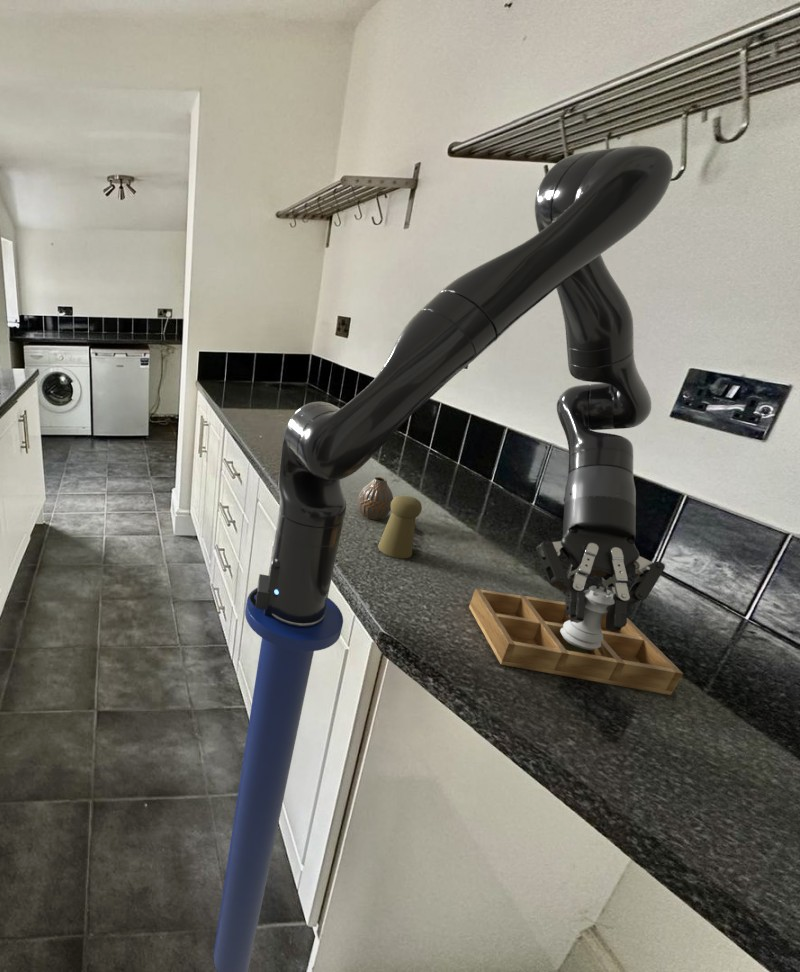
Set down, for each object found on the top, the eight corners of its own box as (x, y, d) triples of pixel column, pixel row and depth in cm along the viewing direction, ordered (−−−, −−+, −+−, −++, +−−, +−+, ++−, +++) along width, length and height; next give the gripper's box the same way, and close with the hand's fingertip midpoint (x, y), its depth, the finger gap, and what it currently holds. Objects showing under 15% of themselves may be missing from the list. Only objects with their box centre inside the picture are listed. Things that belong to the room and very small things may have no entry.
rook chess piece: (553, 636, 69) (574, 587, 66) (565, 625, 72) (586, 577, 68) (593, 656, 66) (617, 605, 63) (604, 643, 68) (628, 594, 65)
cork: (409, 561, 93) (424, 508, 89) (375, 552, 96) (388, 499, 92) (413, 548, 98) (427, 496, 94) (380, 539, 101) (392, 489, 97)
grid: (500, 664, 69) (508, 643, 67) (468, 607, 81) (475, 588, 79) (671, 695, 65) (683, 673, 63) (610, 630, 77) (620, 610, 75)
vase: (388, 513, 113) (397, 476, 109) (388, 525, 107) (398, 487, 103) (356, 506, 115) (364, 471, 112) (354, 518, 109) (362, 481, 106)
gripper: (550, 485, 70) (542, 605, 65) (680, 505, 65) (684, 637, 60) (528, 505, 77) (520, 615, 71) (646, 524, 72) (646, 645, 66)
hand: (595, 625), depth 65 cm, fingers closed on rook chess piece, 3 cm apart
